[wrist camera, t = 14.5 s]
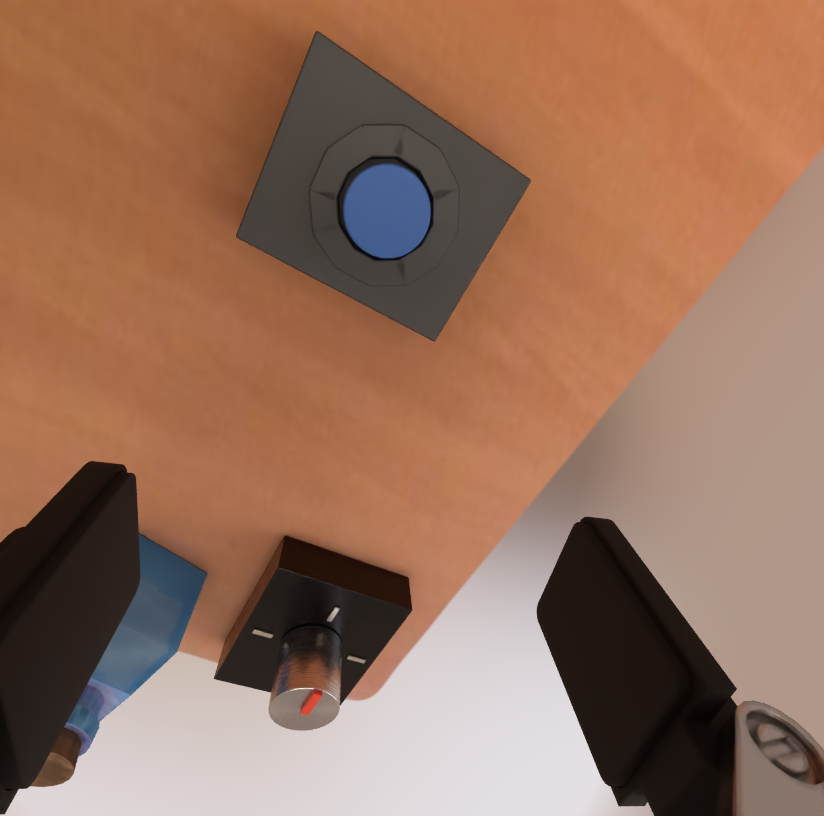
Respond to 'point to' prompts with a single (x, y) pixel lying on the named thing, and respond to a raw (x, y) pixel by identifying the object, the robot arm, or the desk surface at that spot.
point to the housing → (347, 157)
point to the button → (386, 210)
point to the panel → (314, 613)
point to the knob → (307, 679)
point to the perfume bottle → (130, 652)
